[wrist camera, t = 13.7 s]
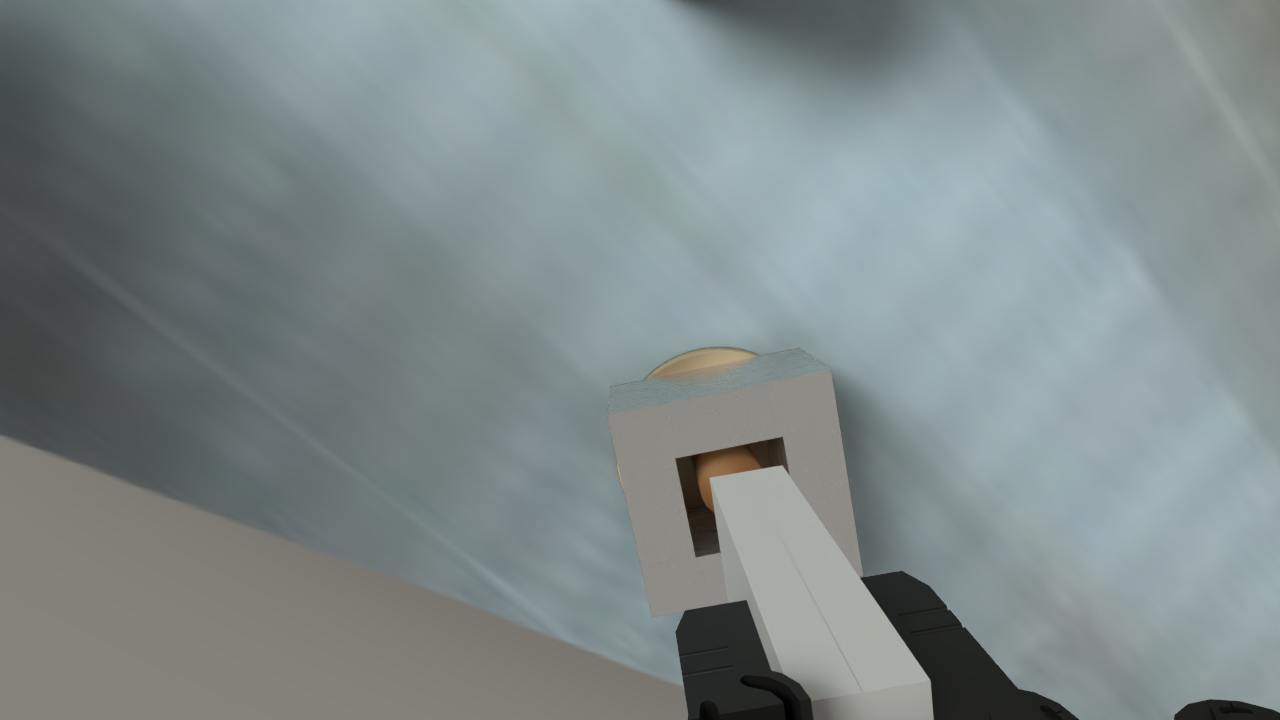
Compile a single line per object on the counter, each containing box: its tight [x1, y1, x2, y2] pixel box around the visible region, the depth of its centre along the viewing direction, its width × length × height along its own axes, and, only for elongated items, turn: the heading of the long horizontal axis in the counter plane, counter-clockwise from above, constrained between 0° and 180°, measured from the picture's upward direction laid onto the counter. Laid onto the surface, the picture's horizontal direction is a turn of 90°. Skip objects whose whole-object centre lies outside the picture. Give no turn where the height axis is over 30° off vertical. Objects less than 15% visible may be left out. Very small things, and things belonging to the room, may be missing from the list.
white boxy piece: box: [607, 348, 863, 618], centre depth 30 cm, size 9×9×5 cm
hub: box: [617, 347, 771, 513], centre depth 32 cm, size 10×10×6 cm
